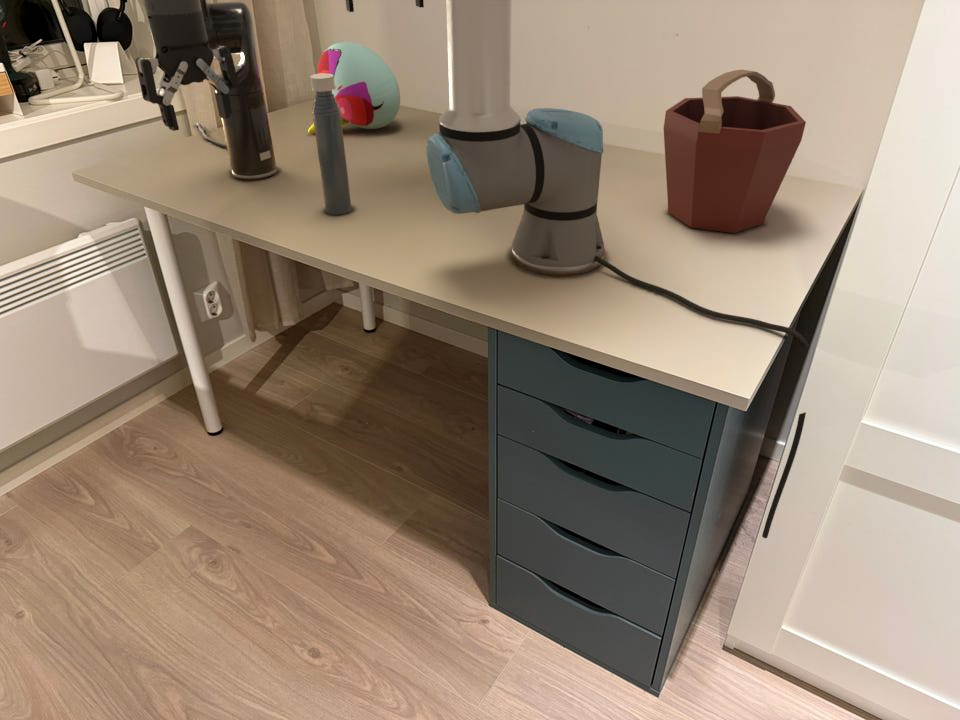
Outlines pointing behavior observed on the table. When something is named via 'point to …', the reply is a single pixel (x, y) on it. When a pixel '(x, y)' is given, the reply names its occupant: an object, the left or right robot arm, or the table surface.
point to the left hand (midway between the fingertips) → (199, 123)
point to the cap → (322, 82)
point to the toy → (361, 85)
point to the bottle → (331, 153)
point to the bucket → (728, 154)
